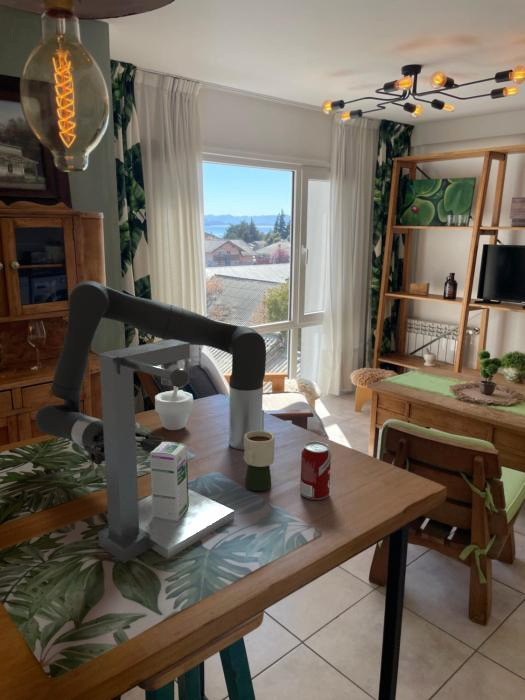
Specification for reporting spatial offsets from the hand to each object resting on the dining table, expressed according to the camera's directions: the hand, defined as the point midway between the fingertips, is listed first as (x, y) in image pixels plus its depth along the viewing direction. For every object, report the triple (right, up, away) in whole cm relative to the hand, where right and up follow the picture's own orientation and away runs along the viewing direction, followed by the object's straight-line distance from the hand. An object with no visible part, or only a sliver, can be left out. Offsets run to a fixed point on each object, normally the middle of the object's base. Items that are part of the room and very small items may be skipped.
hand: (138, 455), depth 112 cm
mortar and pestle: (0, -1, +47) cm, 47 cm away
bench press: (+10, -14, -9) cm, 19 cm away
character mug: (+26, -10, +11) cm, 30 cm away
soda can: (+39, -11, +8) cm, 41 cm away
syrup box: (+8, -11, -4) cm, 14 cm away
